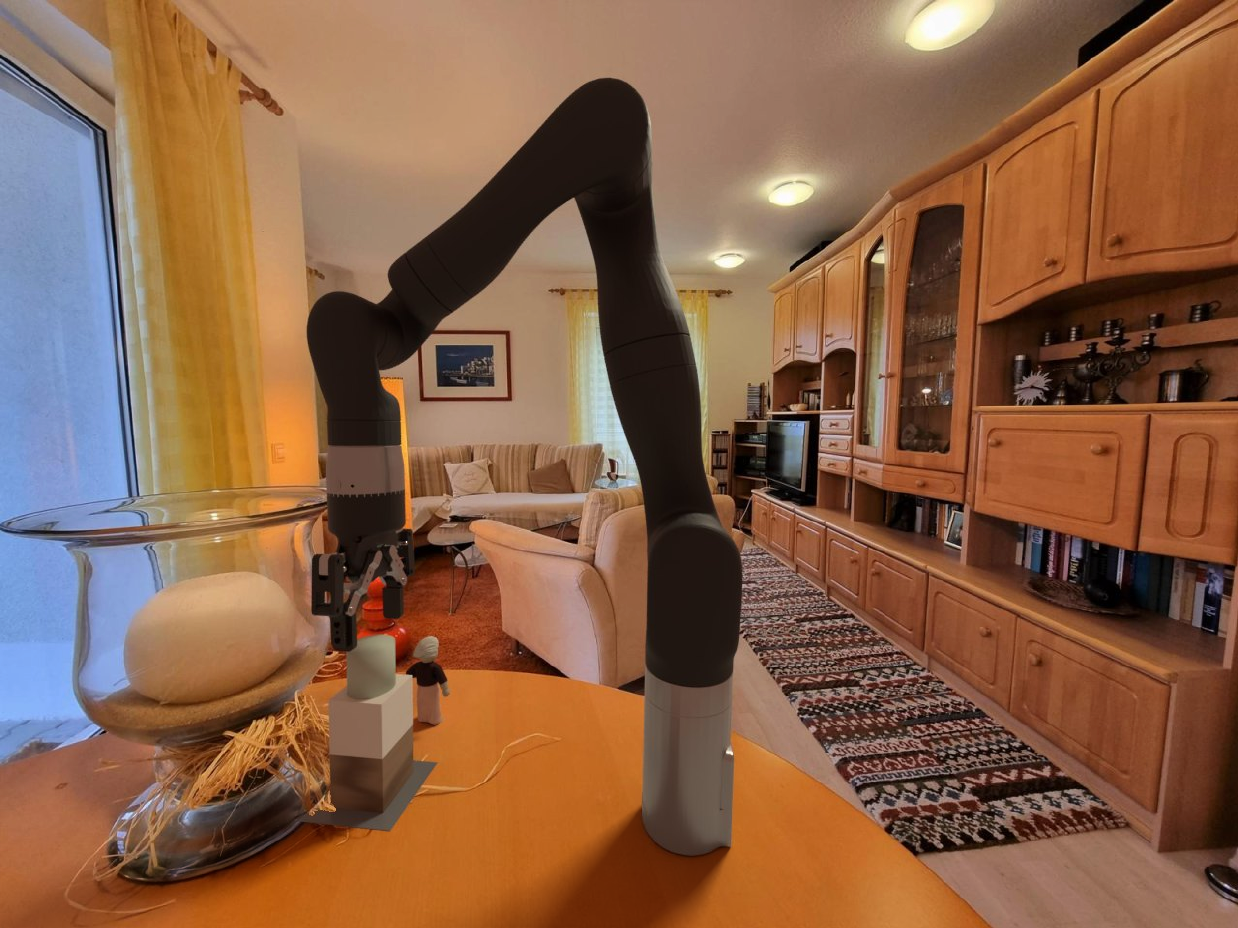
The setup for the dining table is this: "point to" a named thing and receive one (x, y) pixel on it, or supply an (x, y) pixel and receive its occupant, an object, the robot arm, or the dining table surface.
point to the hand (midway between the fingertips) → (371, 632)
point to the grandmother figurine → (428, 681)
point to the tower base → (371, 777)
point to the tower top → (370, 721)
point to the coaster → (374, 818)
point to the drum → (371, 667)
